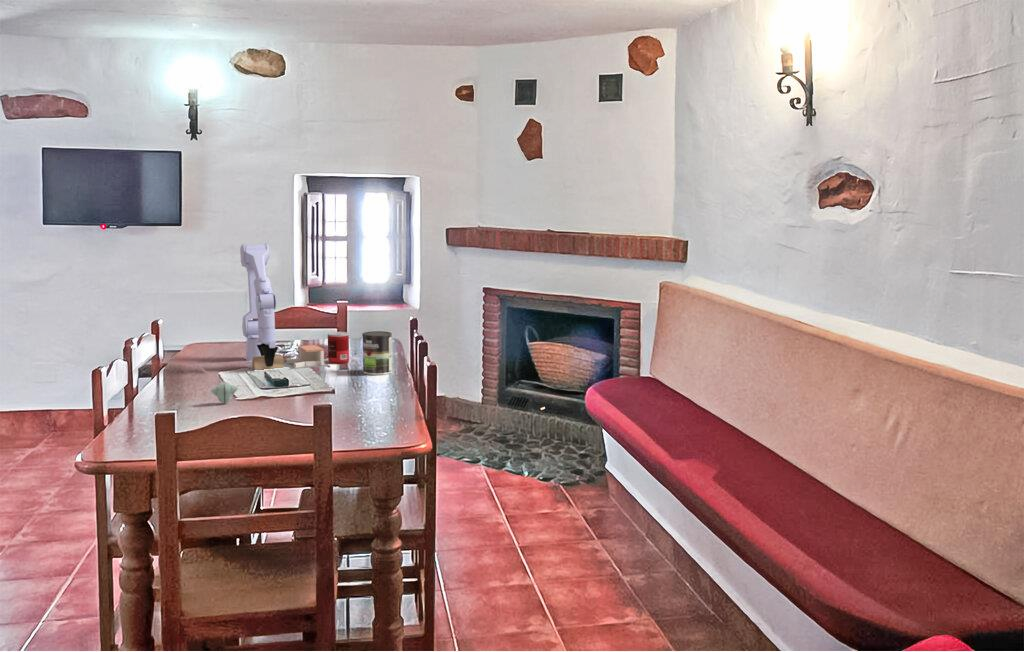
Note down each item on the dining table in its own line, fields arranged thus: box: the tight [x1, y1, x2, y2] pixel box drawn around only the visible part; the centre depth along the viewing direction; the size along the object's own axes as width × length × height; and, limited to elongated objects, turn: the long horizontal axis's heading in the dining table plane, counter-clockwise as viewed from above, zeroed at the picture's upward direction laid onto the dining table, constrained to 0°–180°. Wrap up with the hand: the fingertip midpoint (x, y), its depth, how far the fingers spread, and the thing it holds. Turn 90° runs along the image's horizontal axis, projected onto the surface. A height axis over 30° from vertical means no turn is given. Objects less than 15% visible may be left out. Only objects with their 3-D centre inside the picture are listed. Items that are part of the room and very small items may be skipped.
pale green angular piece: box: [210, 381, 239, 405], centre depth 279 cm, size 8×4×7 cm, turn 109°
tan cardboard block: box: [251, 354, 284, 371], centre depth 330 cm, size 4×10×4 cm, turn 119°
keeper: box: [245, 344, 331, 371], centre depth 336 cm, size 14×27×7 cm, turn 119°
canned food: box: [327, 331, 350, 365], centre depth 346 cm, size 8×8×11 cm
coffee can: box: [361, 330, 393, 376], centre depth 327 cm, size 10×10×14 cm
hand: (267, 365), depth 330 cm, fingers closed on tan cardboard block, 4 cm apart
